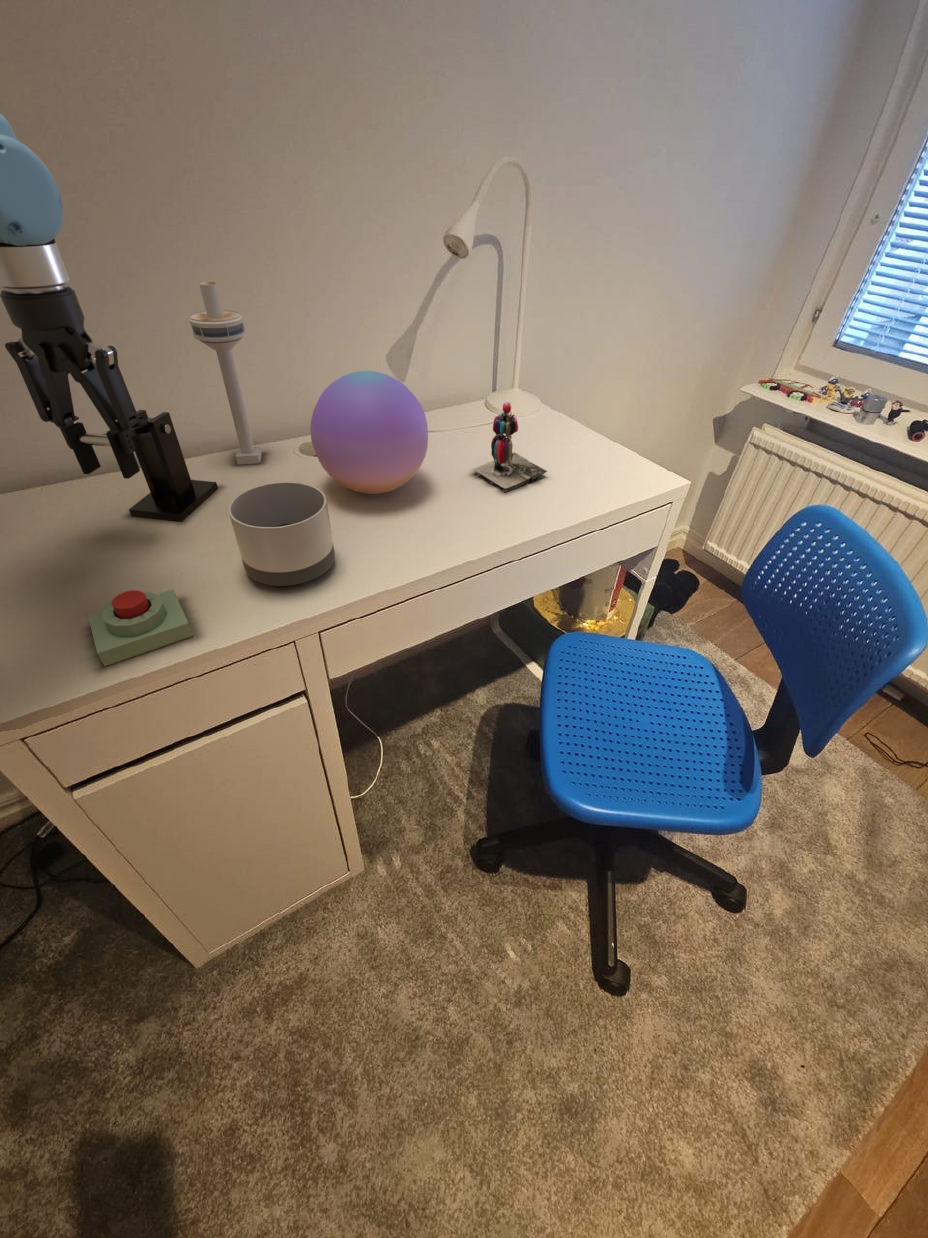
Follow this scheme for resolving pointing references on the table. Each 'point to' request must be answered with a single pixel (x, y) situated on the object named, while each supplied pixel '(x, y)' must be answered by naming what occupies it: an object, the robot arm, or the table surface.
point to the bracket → (166, 474)
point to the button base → (139, 628)
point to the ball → (369, 432)
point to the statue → (507, 456)
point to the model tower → (226, 361)
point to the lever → (102, 439)
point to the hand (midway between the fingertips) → (112, 471)
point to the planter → (283, 532)
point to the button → (130, 604)
